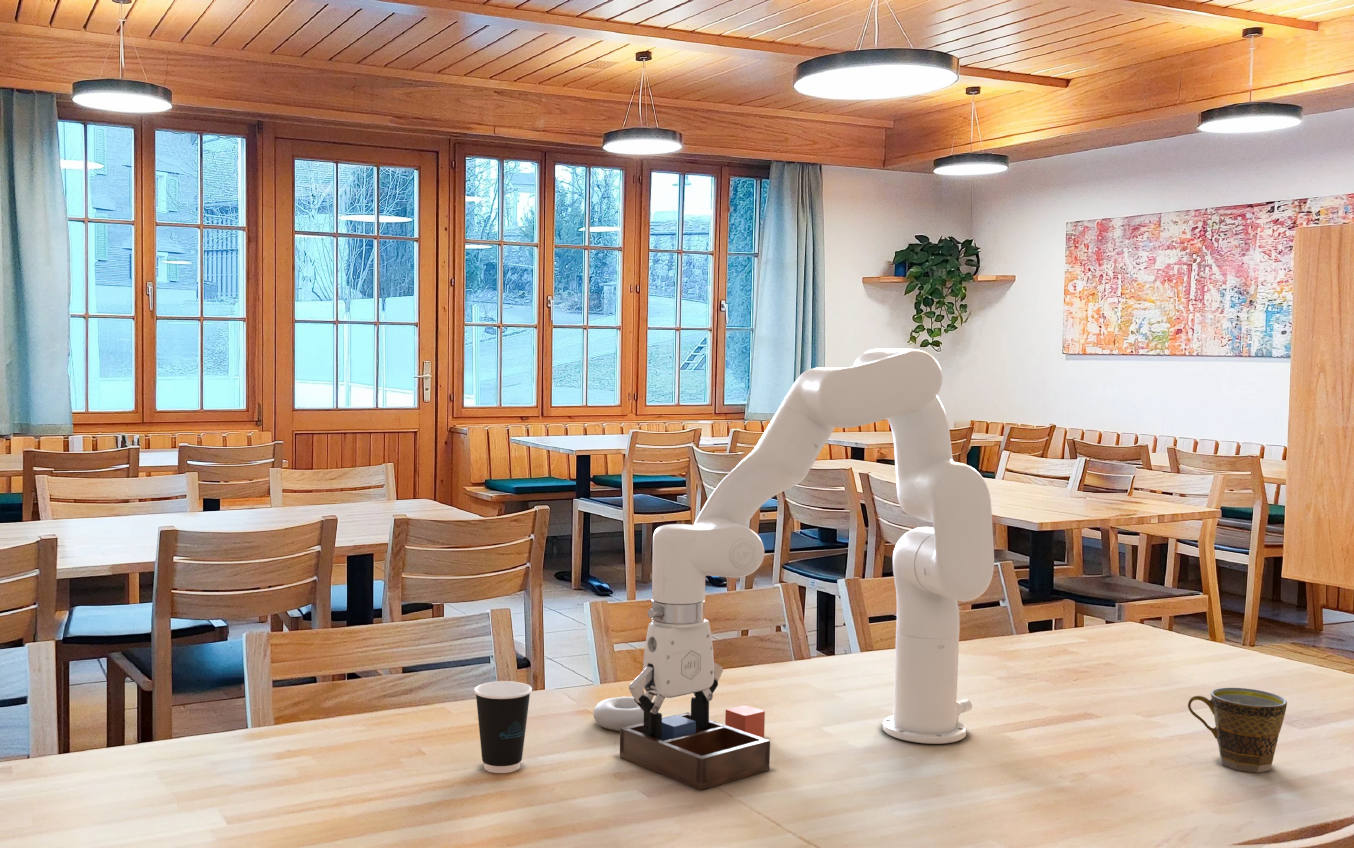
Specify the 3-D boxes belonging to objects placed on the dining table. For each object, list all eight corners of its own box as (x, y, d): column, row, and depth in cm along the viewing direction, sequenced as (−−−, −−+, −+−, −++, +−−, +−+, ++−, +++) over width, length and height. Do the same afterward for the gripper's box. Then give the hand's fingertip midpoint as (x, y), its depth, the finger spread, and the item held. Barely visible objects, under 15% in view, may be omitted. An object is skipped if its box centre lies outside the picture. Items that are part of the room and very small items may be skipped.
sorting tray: (687, 739, 185) (688, 711, 185) (769, 769, 172) (770, 740, 172) (619, 757, 176) (620, 727, 176) (700, 790, 164) (701, 758, 164)
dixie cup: (516, 779, 166) (517, 698, 165) (462, 772, 168) (463, 692, 168) (540, 761, 174) (541, 684, 173) (488, 755, 176) (489, 678, 175)
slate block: (675, 742, 180) (676, 714, 180) (695, 750, 177) (696, 721, 177) (653, 748, 177) (654, 719, 177) (673, 756, 174) (673, 726, 174)
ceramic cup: (1278, 758, 182) (1282, 691, 182) (1288, 780, 173) (1291, 709, 172) (1183, 747, 187) (1186, 682, 186) (1187, 768, 177) (1190, 699, 177)
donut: (585, 732, 188) (650, 736, 186) (585, 709, 188) (650, 713, 186) (602, 713, 198) (664, 717, 196) (602, 692, 198) (664, 695, 196)
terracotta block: (744, 731, 190) (745, 704, 189) (764, 738, 187) (765, 710, 186) (724, 736, 187) (725, 709, 187) (744, 743, 184) (745, 715, 183)
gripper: (648, 625, 167) (646, 752, 168) (740, 608, 179) (738, 727, 180) (613, 615, 173) (612, 738, 174) (705, 600, 185) (703, 715, 186)
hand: (676, 732), depth 177 cm, fingers open, 8 cm apart
